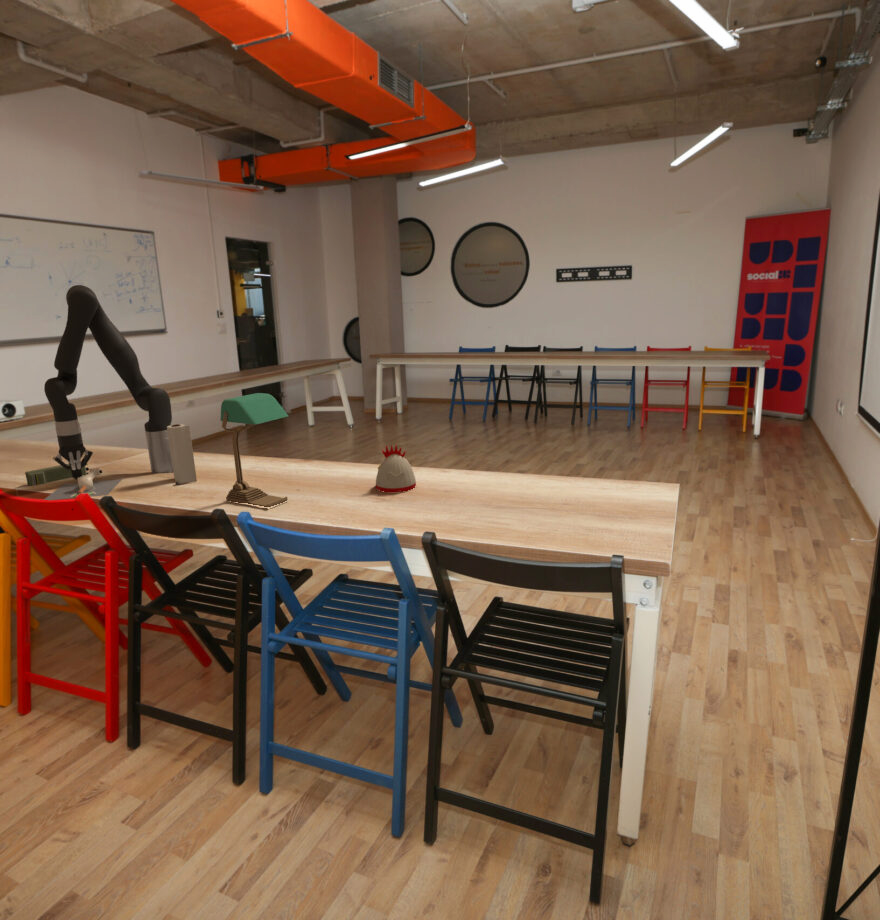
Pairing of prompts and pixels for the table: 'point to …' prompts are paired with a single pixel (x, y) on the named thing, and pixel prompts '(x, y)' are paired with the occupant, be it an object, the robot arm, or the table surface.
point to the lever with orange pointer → (87, 480)
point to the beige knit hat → (395, 472)
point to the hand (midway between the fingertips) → (77, 479)
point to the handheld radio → (51, 474)
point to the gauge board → (73, 490)
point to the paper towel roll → (182, 453)
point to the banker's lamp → (238, 411)
